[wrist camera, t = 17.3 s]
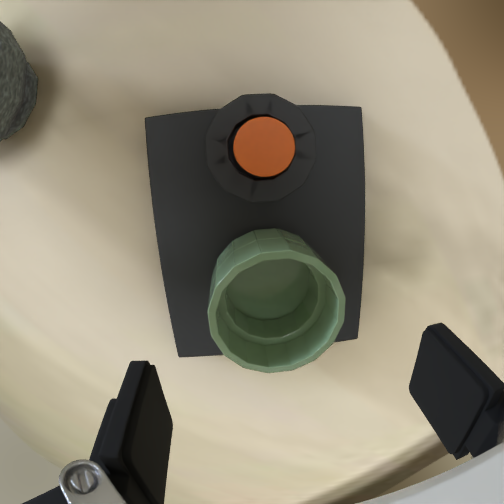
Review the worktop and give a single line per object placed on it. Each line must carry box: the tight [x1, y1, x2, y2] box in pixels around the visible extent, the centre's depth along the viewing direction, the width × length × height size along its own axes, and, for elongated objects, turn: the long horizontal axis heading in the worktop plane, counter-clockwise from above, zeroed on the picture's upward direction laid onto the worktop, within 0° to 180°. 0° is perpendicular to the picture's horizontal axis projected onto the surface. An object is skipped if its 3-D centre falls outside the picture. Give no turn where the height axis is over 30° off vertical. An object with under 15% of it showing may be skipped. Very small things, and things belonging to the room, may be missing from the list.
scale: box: [145, 94, 365, 357], centre depth 19 cm, size 16×13×3 cm
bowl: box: [207, 228, 346, 373], centre depth 18 cm, size 7×7×5 cm
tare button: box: [233, 117, 295, 177], centre depth 16 cm, size 3×3×2 cm
